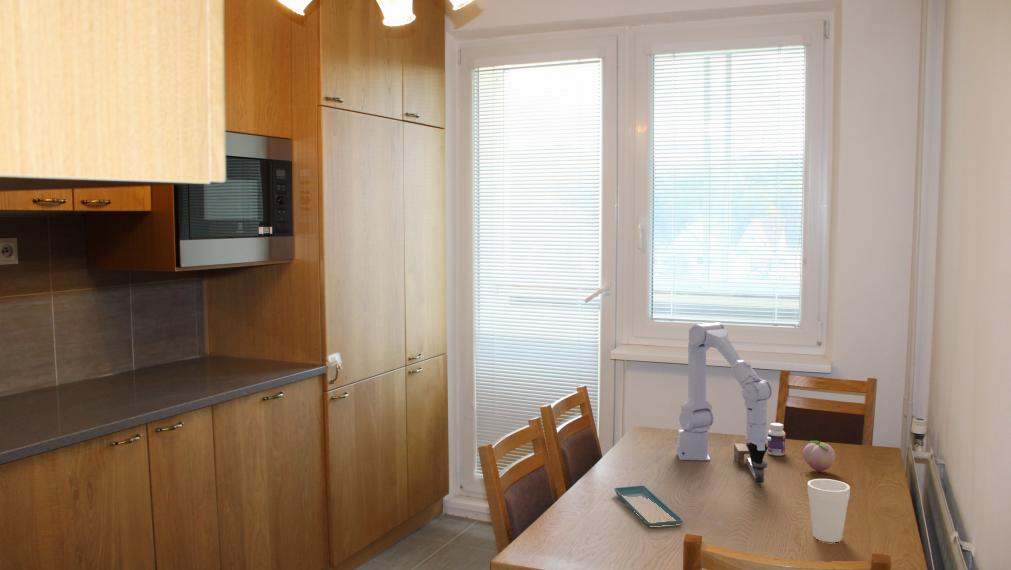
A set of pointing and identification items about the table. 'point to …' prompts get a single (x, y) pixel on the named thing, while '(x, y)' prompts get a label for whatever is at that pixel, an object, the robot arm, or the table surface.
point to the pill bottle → (776, 440)
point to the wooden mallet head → (740, 453)
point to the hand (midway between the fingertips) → (756, 468)
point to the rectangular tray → (645, 492)
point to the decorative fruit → (819, 455)
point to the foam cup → (828, 508)
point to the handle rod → (757, 469)
